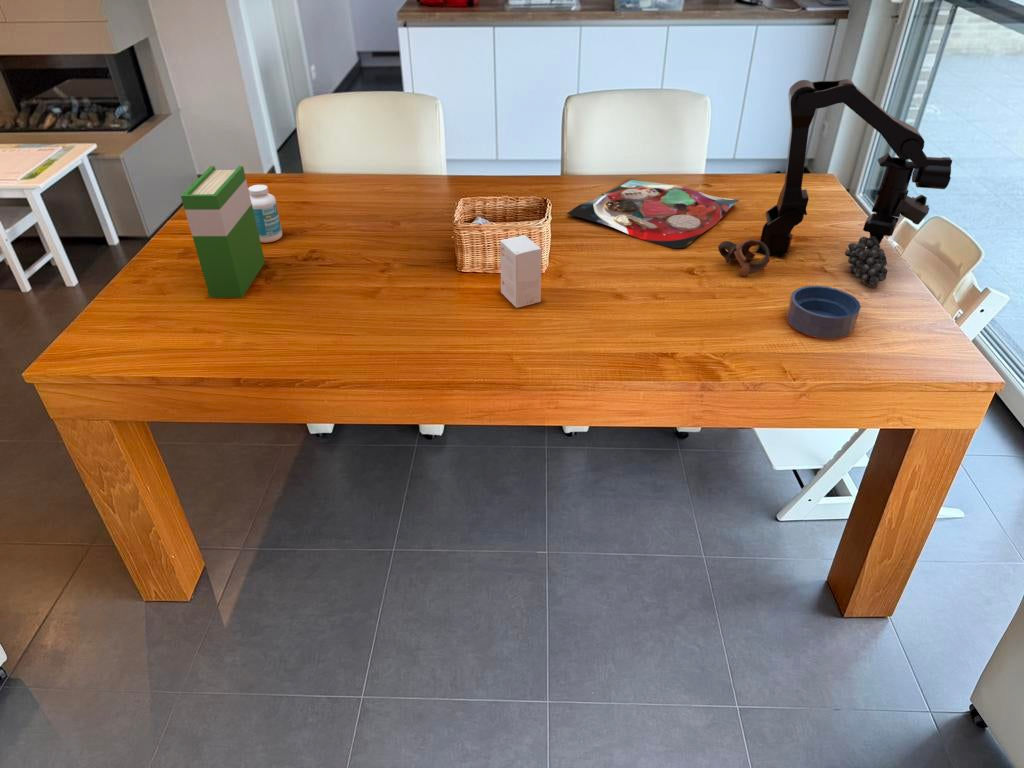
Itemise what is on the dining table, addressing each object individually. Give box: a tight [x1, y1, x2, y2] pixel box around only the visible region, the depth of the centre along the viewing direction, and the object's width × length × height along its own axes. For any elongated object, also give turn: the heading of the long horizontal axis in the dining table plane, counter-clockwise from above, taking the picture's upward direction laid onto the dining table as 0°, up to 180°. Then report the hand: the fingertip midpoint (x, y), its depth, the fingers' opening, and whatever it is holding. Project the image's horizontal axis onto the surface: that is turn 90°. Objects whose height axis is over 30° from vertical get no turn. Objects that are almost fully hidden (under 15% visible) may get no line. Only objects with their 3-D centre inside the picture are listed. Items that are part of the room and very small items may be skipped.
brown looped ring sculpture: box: [717, 238, 771, 277], centre depth 174 cm, size 12×10×8 cm
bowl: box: [786, 285, 862, 340], centre depth 153 cm, size 13×13×6 cm
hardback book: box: [180, 165, 266, 299], centre depth 166 cm, size 18×7×24 cm, turn 179°
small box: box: [499, 234, 543, 309], centre depth 161 cm, size 8×6×13 cm
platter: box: [566, 179, 740, 250], centre depth 202 cm, size 35×35×2 cm
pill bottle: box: [248, 184, 283, 244], centre depth 188 cm, size 8×7×14 cm
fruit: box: [844, 236, 889, 289], centre depth 169 cm, size 9×8×15 cm
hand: (874, 247), depth 177 cm, fingers closed
